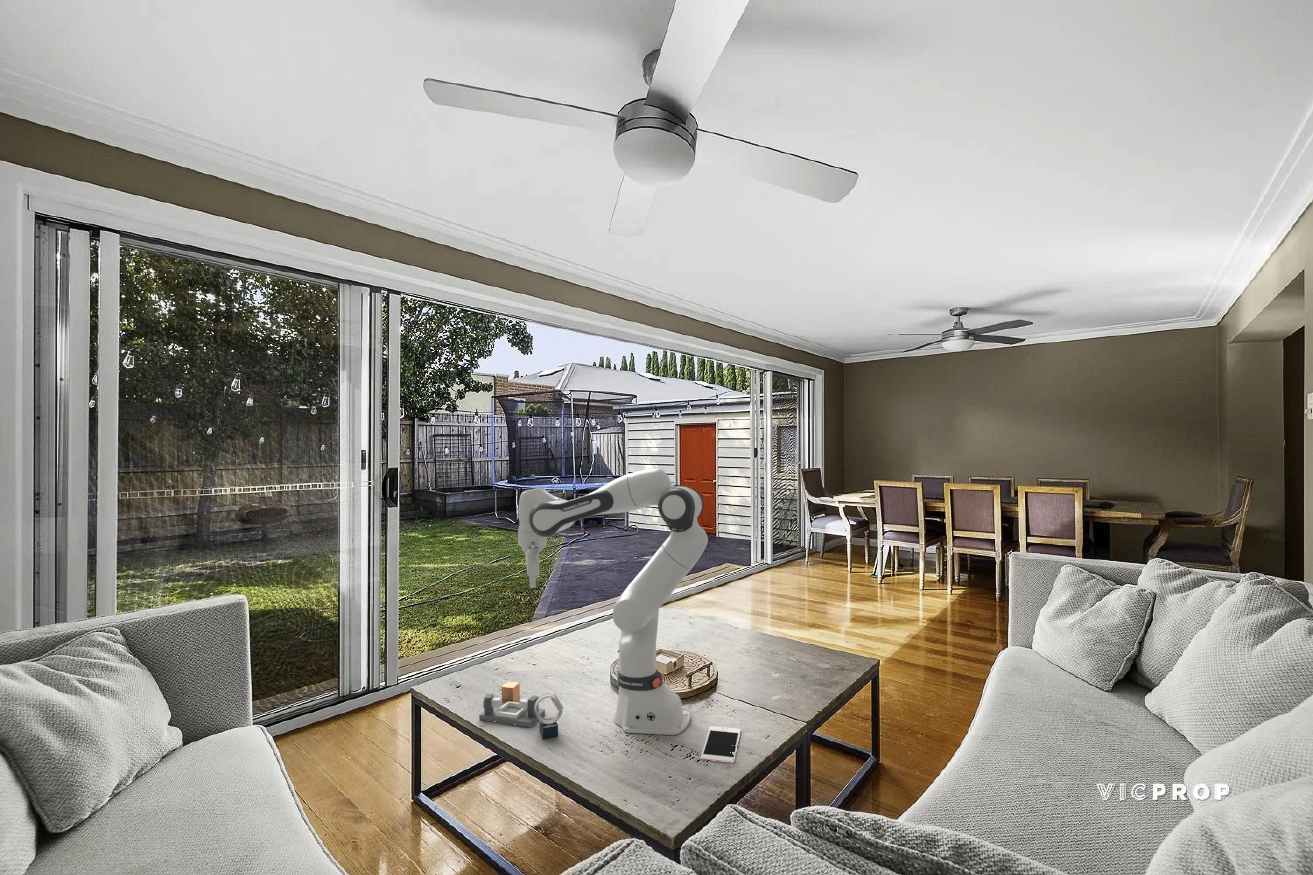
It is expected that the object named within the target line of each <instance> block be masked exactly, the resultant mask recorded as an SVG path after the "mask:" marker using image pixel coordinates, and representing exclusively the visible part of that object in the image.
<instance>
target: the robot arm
mask: <svg viewBox="0 0 1313 875" xmlns="http://www.w3.org/2000/svg"><path fill="white" fill-rule="evenodd" d="M650 506H657V509H658V513H659V515H660V517H661V519H662V520H663V521H664V523H665V525H666V526H667V528H668V529H669V531H671V532H670V533H669V536H668V537H667V538H666V539H665V540H664V541H663V543H662V544H661V546H660V547H659V548H658V549H657V550H656V551H655V553H654V554H653V555H652V557H651V558H650V559H649V561H647V563H646V564H645V565H644V566H643V568H642V569H641V570H640V571H639V572H638V573H637V575H636V576H635V577H634V578H633V579H632V581H631V582H630V583H629V584H628V586H627V587H626V588H625V589H624V591H623V592H622V593H621V594H620V595H619V597H618V598H617V599H616V601H615V604H614V606H613V610H612V619H613V623H614V624H615V626H616V627H617V629H619V630H620V631H621V632H620V639H619V642H618V643H619V644H618V670H617V681H616V682H617V689H618V697H617V704H616V709H615V713H614V717H613V720H614V722H615V723H616V725H618V726H619V727H621V728H622V731H623V732H625V733H629V734H630V733H631V734H645V735H664V736H666V735H667V736H669V735H670V736H675V735H676V736H677V735H679V734H681V733H683V732H684V731H685V730H686V729H687V727H688V726H689V724H690V722H691V714H690V712H689V711H687V710H683V703H682V700H681V697H680V696H679V695H678V694H677V693H676V692H674V691H673V690H672V689H671V688H670V687H668V686H667V685H666V684H665V683H663V682H664V681H663V680H664V679H663V678H664V676H665V674H664V673H665V672H664V671H662V673H661V672H659V671H658V669H657V638H658V637H657V636H658V626H659V615H660V614H659V612H660V608H661V607H662V606H663V605H664V603H665V602H666V601H667V600H668V598H669V597H670V596H671V594H672V593H673V592H674V591H675V590H676V588H677V587H678V586H679V585H680V583H681V582H682V581H683V579H685V577H686V576H687V575H688V574H689V572H690V571H691V570H692V569H693V567H694V566H695V565H696V563H697V562H698V561H699V559H700V557H701V556H703V555H702V554H703V553H704V551H705V549H706V548H707V546H708V542H709V537H708V534H707V532H706V531H705V528H703V527H702V526H700V524H699V522H698V518H700V516H701V515H702V513H703V510H704V499H703V497H702V495H701V494H700V492H698V490H695V489H694V488H692V487H689V486H684V485H681V484H680V485H679V484H672V482H671V479H670V477H669V475H668V473H666V471H665V470H664V469H662V468H655V467H654V468H648V469H643V470H637V471H634V472H631V473H627V474H624V475H622V476H620V477H618V478H615V479H614V480H612V481H610V482H608V483H606V484H604V485H602V486H601V487H599V488H597V489H596V490H594V491H592V492H590V493H587V494H586V495H583V496H580V497H577V498H574V499H570V500H568V499H563V498H560V497H559V496H555V495H553V494H551V493H550V492H549V491H547V489H545V488H543V487H539V488H532V489H527V490H524V491H522V492H521V494H520V495H519V502H518V514H517V515H518V520H519V526H518V530H517V531H518V532H517V533H518V534H517V537H518V538H517V541H518V542H517V543H518V544H517V546H518V547H520V548H522V550H521V551H522V552H524V556H525V557H524V558H525V565H526V567H525V568H526V576H528V581H529V588H531V589H536V587H537V583H536V582H537V576H539V575H540V552H542V551H543V550H544V547H545V546H548V544H547V543H548V542H547V541H548V540H547V539H548V537H551V536H553V535H555V534H556V533H559V532H562V531H564V530H567V529H569V528H570V527H572V526H573V525H574V524H575V523H576V522H578V521H580V520H583V519H586V518H589V517H590V518H591V517H593V516H594V517H595V516H599V515H600V516H601V515H610V514H620V513H627V512H632V511H637V510H640V509H644V508H647V507H650Z"/></svg>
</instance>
